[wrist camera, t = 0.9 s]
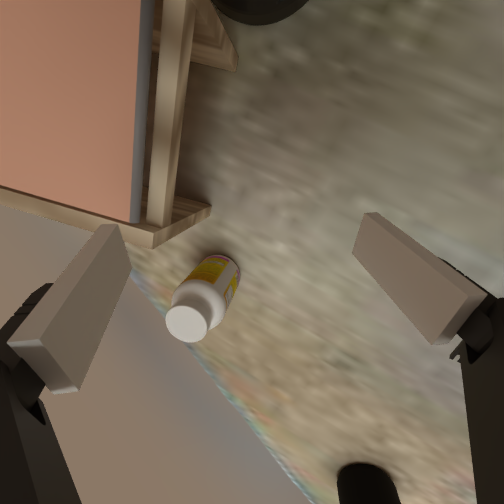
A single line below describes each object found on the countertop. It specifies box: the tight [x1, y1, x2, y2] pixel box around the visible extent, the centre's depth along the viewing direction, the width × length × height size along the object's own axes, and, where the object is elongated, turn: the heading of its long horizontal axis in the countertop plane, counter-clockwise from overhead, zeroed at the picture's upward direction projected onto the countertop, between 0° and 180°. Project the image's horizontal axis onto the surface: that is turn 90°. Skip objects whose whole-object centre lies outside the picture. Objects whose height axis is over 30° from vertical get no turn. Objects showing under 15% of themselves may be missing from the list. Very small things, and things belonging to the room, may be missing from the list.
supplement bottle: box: [166, 255, 240, 342], centre depth 31 cm, size 7×7×13 cm
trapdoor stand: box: [0, 0, 238, 249], centre depth 24 cm, size 19×20×15 cm
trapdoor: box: [0, 0, 155, 223], centre depth 17 cm, size 15×16×1 cm
